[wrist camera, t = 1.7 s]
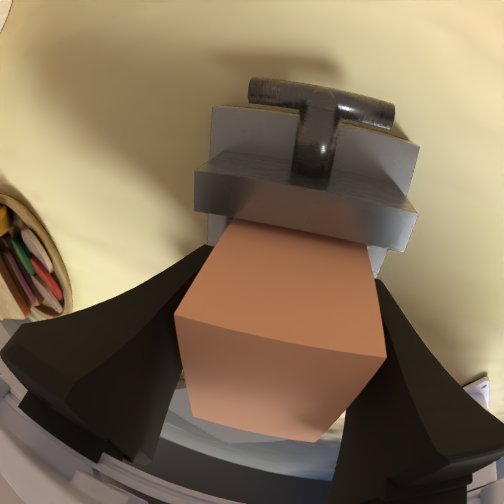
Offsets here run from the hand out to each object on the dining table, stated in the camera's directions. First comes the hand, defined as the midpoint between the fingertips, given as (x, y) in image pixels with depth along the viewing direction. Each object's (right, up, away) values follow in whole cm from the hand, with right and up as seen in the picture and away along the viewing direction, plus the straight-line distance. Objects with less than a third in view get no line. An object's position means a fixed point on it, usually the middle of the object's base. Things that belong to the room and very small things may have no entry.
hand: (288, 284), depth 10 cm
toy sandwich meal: (-20, +1, +9) cm, 22 cm away
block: (0, +1, +1) cm, 1 cm away
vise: (+1, +1, +2) cm, 2 cm away
